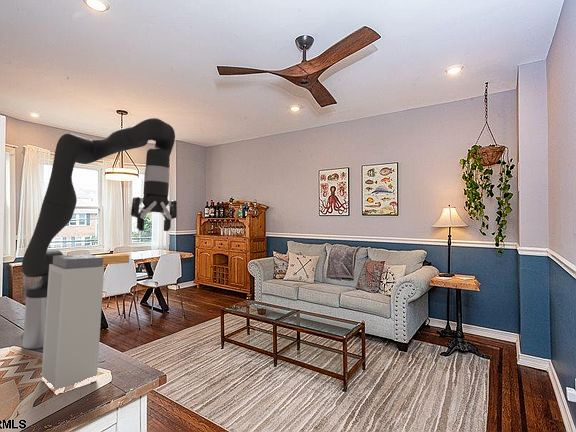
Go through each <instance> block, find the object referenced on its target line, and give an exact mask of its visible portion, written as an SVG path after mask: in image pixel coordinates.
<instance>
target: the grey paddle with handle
mask: <svg viewBox="0 0 576 432" xmlns="http://www.w3.org/2000/svg"><path fill="white" fill-rule="evenodd" d="M129 263H130V254H127V253H120V254H119V253H118V254H117V253H116V254H112V253H111V254H95V255H94V254H91V253H87V254H86V253H85V254H83V253H81V254H63V255H56V256H53V265H55V266H58V267H61V268H64V269H72V268H86V267H100V266H103V267H104V265H116V264H117V265H118V264H129Z"/></svg>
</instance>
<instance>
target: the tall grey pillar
mask: <svg viewBox="0 0 576 432" xmlns="http://www.w3.org/2000/svg"><path fill="white" fill-rule="evenodd" d="M104 274H105V266H104V265H103V266H100V267H86V268H72V269H64V268H61V267H58V266H55V265H53V264H49V276H48V290H47V304H46V318H45V333H44V347H42V349H43V350H42V363H41V364H42V365H41V375H42V376H43V377H44V378H45V379H46V380H47V381H48V382H49V383H51V384H52V385H53V387H54V388H55V389H56V390H57V389H59V388H63V387H67V386H70V385H73V384H75V383H78V382H81V381H83V380H85V379H87V378H90V377H93V376H96V375H97V376H98V371H99V370H98V367H99V366H98V365H99V354H100V353H99V351H100V337H101V323H102V320H101V319H102V309H103V308H102V305H103V291H104V277H105V276H104Z"/></svg>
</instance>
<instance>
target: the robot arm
mask: <svg viewBox="0 0 576 432" xmlns="http://www.w3.org/2000/svg"><path fill="white" fill-rule="evenodd" d="M149 141H154V142H155V143H154V147H152V148H149V149H148V150H147V151H146V157H145V158H146V159H145V169H144V177H143V192H142V193H143V197H139V196H134V197H132V202H131V210H130V216H132V217H134V218H136V219H137V220H136V221H137V222H136V229H138V231H139V232H141V231H142V232H143V231H145V219H144V218H145V217H146V215H148V214H149V213H160V214H161V215H162V217H163V218H164V219H163V231H164V232H169V231H170V229H171V221H172V220H173V219H176V218H178V217H177V216H178V214H177V213H178V212H177V211H178V208H177V206H178V205H177V204H178V203H177V200H169V199H168V197H169V192H170V191H169V190H170V189H169V188H170V187H169V186H170V158H171V157H170V156H171V154H172V151H173V148H174V144H175V141H176V133H175V129H174V128H173V126H171V124H169V123H168V122H165V121H164V120H161V119H160V118H157V117H149V118H145V119H143V120H141V121H140V122H138V123H136V124H135V125H132V126H127V127H123V128H119V129H117V130H115V131H113V132H111V133H110V134H109V135H108V136H107V137H105V138H101V139H90V138H87V137H83V136H81V135H77V134H74V133H70V132H69V133H64V134H63V135H61V136H60V137H59V139H58V140H57V143H56V146H55V150H54V156H53V161H52V168H51V173H50V177H49V180H48V181H49V182H48V185H47V188H46V191H45V193H44V194H45V195H44V198H43V200H42V204H41V207H40V211H39V214H38V219H37V221H36V225H35V228H34V230H33V234H32V236H31V238H30V240H29V244H28V245H27V248H26V250H25V251H24V252H25V253H24V255H23V258H22V262H21V270H22V273H23V275H24V276H26V277H27V278H39V277H41V279H40V280H39V281H37V282H36V283H35V284H33V285H31V286H29V287H28V288H27V289H26V292H25V293H26V294H25V308H24V320H23V334H22V335H23V336H22V348H23V349H28V350H34V349H35V350H36V349H41V348H42V349H43V347H44V333H45V318H46V304H47V290H48V276H49V264H53V256H56V255H64V254H63V252H62V251H60V250H59V249H49V247H50V244H51V243H52V241H53V239H54V238H55V237H56V236H57V235H58V234H59V233H60V232H61V231H62V230H63V229H64V228H65V227H66V226H67V225H68V224H69V223H70V221H71V220H72V218H73V215H74V212H75V209H76V206H77V200H78V199H77V194H76V191H75V187H74V183H73V178H72V177H73V176H72V175H73V171H74V168H75V164H76V163H78V164H81V165H88V164H91V163H94V162H97V161H99V160H102V159H103V158H106V157H109V156H111V155H114V154H117V153H120V152H124V151H129V150H130V151H131V150H133V149H139V148H142V147H145V146H146V145H147V144H148V142H149ZM142 204H143V207H142V208H141V209H140V205H142ZM167 207H168V208H167ZM168 209H169V210H168Z"/></svg>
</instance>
